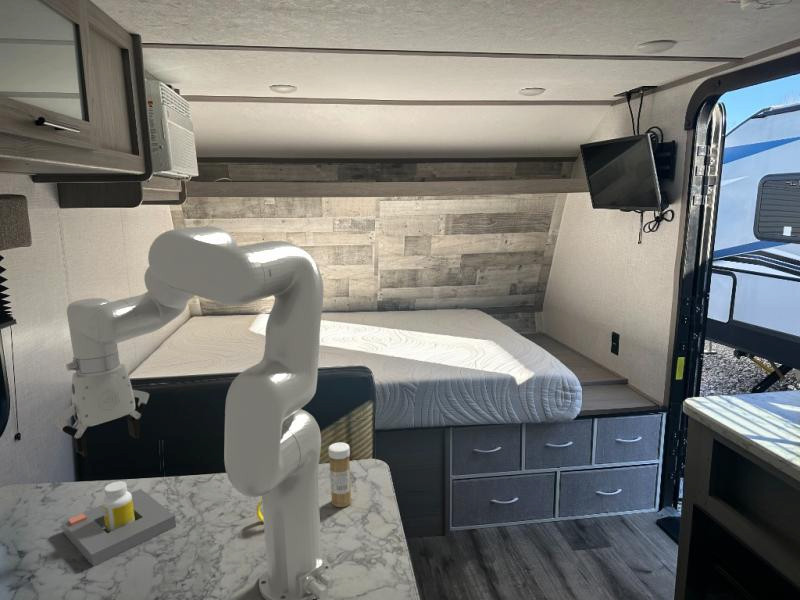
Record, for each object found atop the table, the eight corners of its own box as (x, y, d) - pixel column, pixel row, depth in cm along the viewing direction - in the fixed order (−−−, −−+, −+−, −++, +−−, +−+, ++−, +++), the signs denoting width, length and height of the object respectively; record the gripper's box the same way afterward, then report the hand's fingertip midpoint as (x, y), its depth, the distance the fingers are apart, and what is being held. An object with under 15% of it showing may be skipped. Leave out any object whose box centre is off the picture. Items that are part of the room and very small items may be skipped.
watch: (257, 527, 113) (253, 501, 112) (260, 519, 115) (256, 494, 114) (286, 524, 113) (282, 498, 112) (288, 516, 116) (285, 491, 114)
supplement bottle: (140, 522, 115) (135, 479, 113) (125, 538, 109) (119, 494, 107) (116, 521, 115) (111, 478, 113) (100, 537, 110) (94, 492, 108)
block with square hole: (176, 526, 113) (174, 513, 112) (93, 566, 101) (91, 551, 101) (141, 498, 123) (140, 486, 123) (63, 532, 112) (61, 518, 111)
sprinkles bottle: (352, 496, 123) (350, 441, 120) (350, 508, 118) (347, 451, 115) (332, 496, 123) (330, 441, 120) (329, 508, 118) (326, 451, 116)
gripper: (53, 379, 96) (68, 468, 100) (150, 355, 109) (161, 435, 112) (40, 370, 101) (54, 456, 104) (134, 349, 114) (144, 425, 117)
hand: (109, 445), depth 108 cm, fingers open, 9 cm apart
